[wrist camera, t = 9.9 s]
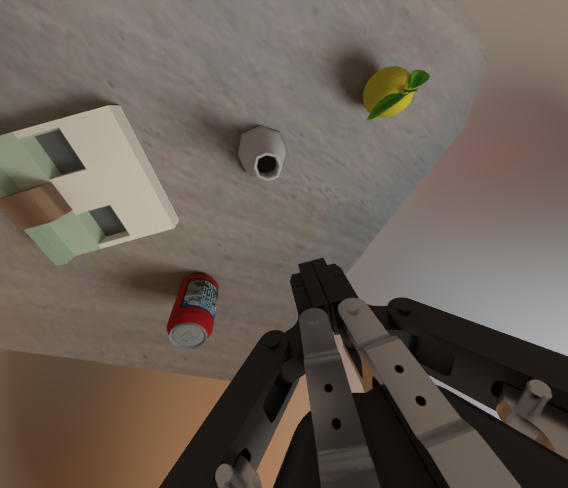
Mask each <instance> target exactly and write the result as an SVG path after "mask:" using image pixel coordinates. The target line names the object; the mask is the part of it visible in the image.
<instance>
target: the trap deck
mask: <svg viewBox="0 0 568 488" xmlns="http://www.w3.org/2000/svg"><path fill="white" fill-rule="evenodd" d="M49 182H52V183H53V184H54V186H55V187H56V188H57V190H58V191H59V192H60V194H61V195H62V196H63V198H64V199H65V200H66V202H67V203H68V204H69V206H70V207H71V208H72V211H70V212H68V213H67V214H65V215H63V216H62V217H60V218H58V219H57V220H55V221H53V222H51V223H47V224H43V225H40V226H36V227H32V228H29V229H25V230H24V231H25V232H26V233H27V234H28V235H29V236H30V237H31V238H32V240H33V241H34V242H35V243H36V244H37V245H38V246H39V247H40V248H41V249H42V250H43V252H44V253H45V254H46V255H47V256H48V257H49V258H50V259H51V260H52V261H53V262H54V264H55V265H56V266H59V265H62V264H66V263H68V262H69V261H70V260H71V259H72V258H73V257H75V256H77V255H80V254H84V253H87V252H91V251H94V250H98V249H102V248H105V247H109V246H112V245H116V244H119V243H123V242H127V241H130V240H134V239H137V238H141V237H144V236H148V235H152V234H155V233H159V232H162V231H166V230H170V229H173V228H175V226H176V225H177V223H178V221H179V219H178V217H177V215H176V213H175V211H174V209H173V207H172V205H171V203H170V201H169V199H168V198H167V196H166V194H165V192H164V190H163V188H162V186H161V184H160V182H159V180H158V178H157V176H156V174H155V172H154V170H153V169H152V167H151V165H150V163H149V161H148V159H147V157H146V155H145V153H144V151H143V149H142V147H141V145H140V143H139V141H138V139H137V138H136V136H135V134H134V132H133V130H132V128H131V126H130V124H129V122H128V120H127V118H126V116H125V114H124V112H123V110H122V109H121V107H120V105H108V106H104V107H100V108H97V109H93V110H90V111H86V112H82V113H79V114H75V115H72V116H68V117H64V118H61V119H57V120H54V121H50V122H46V123H43V124H39V125H36V126H32V127H28V128H25V129H21V130H18V131H14V132H10V133H7V134H3V135H0V198H2V197H4V196H7V195H10V194H12V193H15V192H18V191H20V190H24V189H27V188H31V187H35V186H38V185H42V184H46V183H49Z"/></svg>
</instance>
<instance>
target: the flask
mask: <svg viewBox="0 0 568 488" xmlns="http://www.w3.org/2000/svg"><path fill="white" fill-rule="evenodd" d="M286 152H287V151H286V148H285V145H284V142H283V140H282V137H281V134H280V132H279V131H276V130H273V129H269V128H266V127H263V126H258V127H256V128H254V129H251V130H249V131H247V132H245V133H242V134H241V139H240V144H239V150H238V157H239V159H240V161H241V163H242V165H243V167H244V170H245V172H246V173H248V174H252V175H256V176H257V177H258V179H262V180H266V181H270V180H272V179H275V178H277V177H279V174H280V171H281V170H282V167H283V163H284V159H285V155H286Z"/></svg>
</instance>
